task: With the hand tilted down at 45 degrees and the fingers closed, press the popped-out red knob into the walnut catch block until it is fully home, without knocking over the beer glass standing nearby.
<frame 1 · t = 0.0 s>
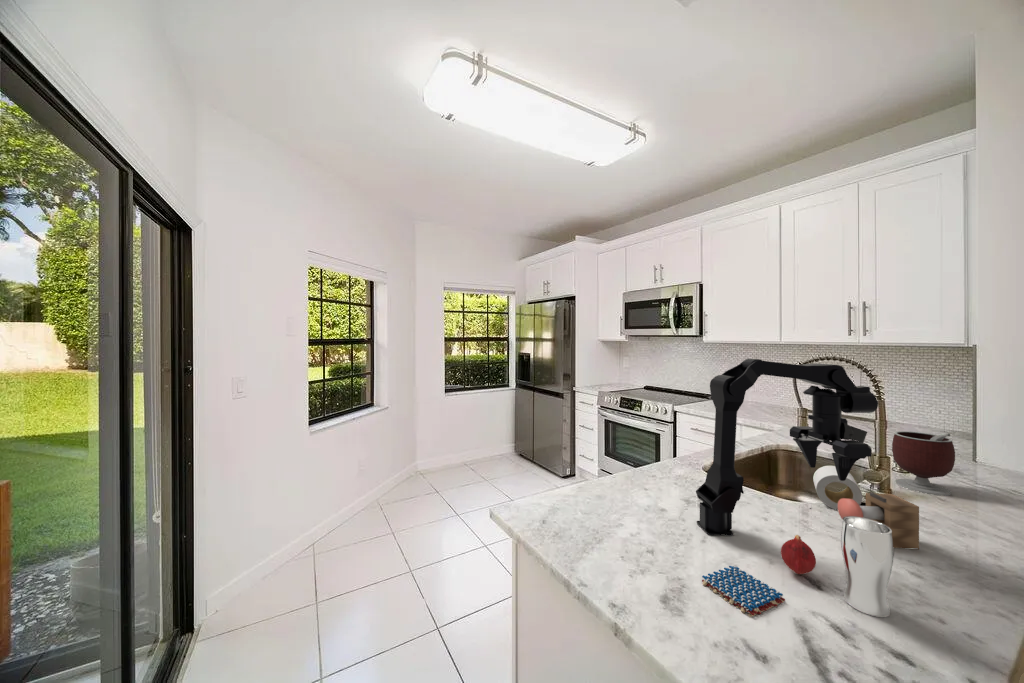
hand: (826, 473, 94), 15 cm above the worktop, tool pointing down, fingers open, 9 cm apart
onion: (798, 575, 77), on the worktop
woven mat: (742, 596, 72), on the worktop
beer glass: (866, 606, 68), on the worktop
toilet paper: (836, 504, 110), on the worktop
catch block: (875, 539, 90), on the worktop
knob: (863, 512, 91), point 6 cm above the worktop, slide at 5.0 cm
mate gourd: (924, 489, 121), on the worktop
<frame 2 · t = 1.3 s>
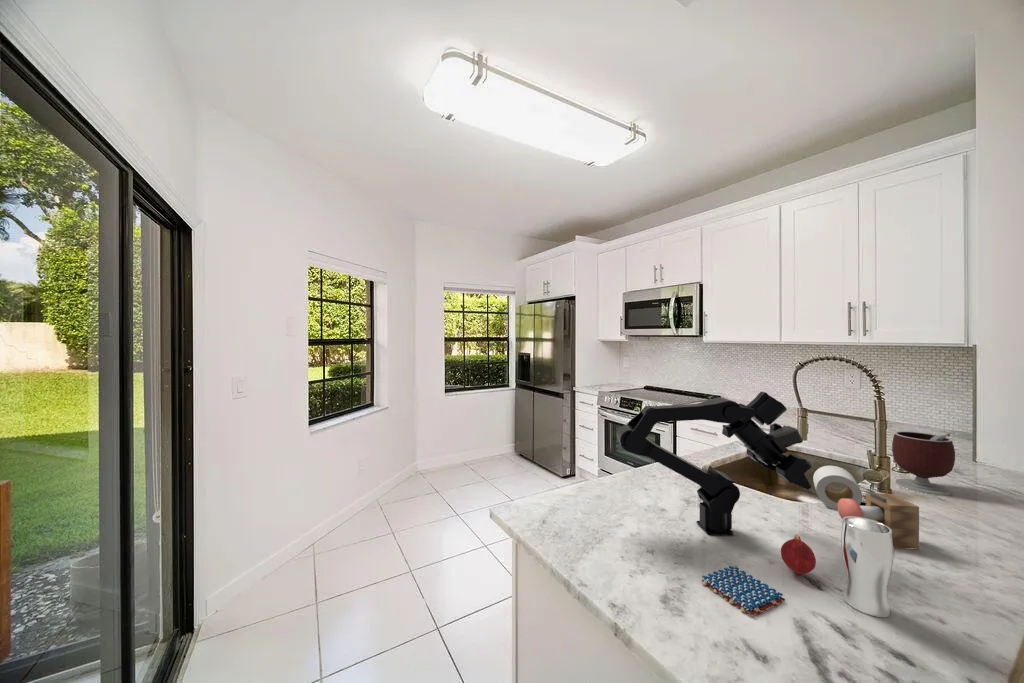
hand: (800, 483, 93), 13 cm above the worktop, tool tilted 45°, fingers open, 6 cm apart
nothing on the worktop moved.
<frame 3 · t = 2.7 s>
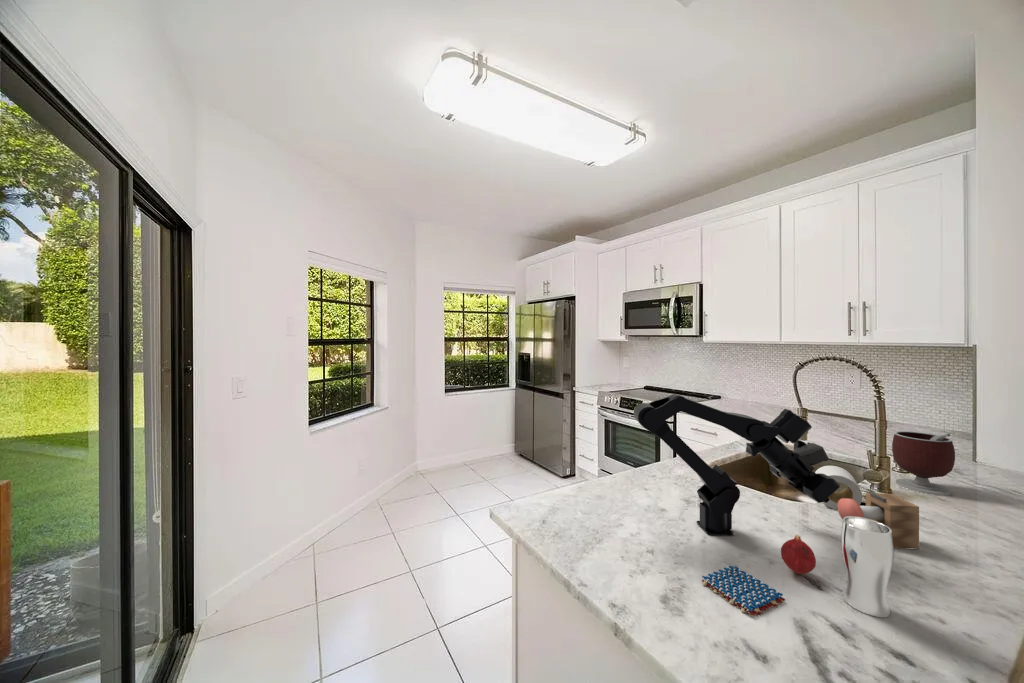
hand: (827, 500, 92), 9 cm above the worktop, tool tilted 45°, fingers closed
nothing on the worktop moved.
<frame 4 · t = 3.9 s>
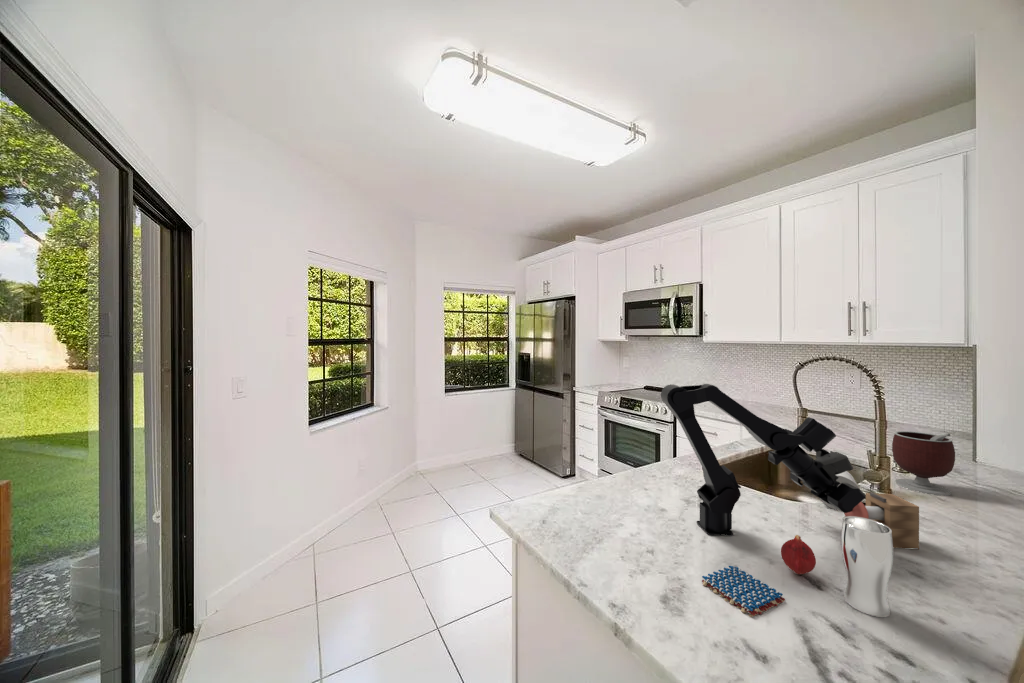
hand: (850, 510, 91), 7 cm above the worktop, tool tilted 45°, fingers closed, pressing on knob
knob: (869, 512, 90), point 6 cm above the worktop, slide at 3.8 cm, touching gripper
everything else where it was.
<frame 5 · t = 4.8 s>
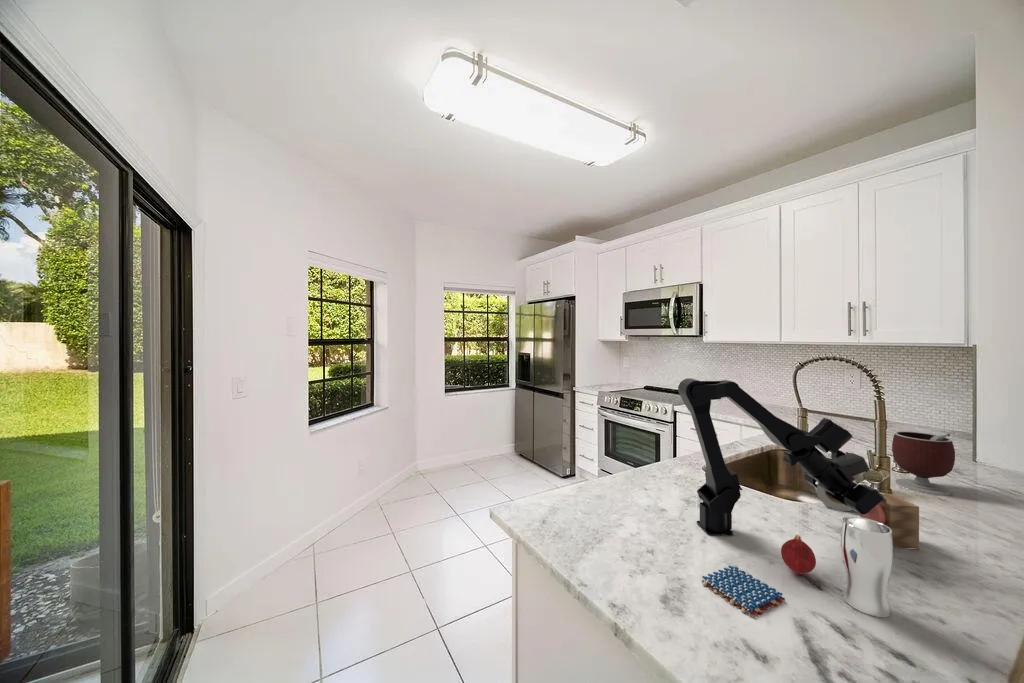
hand: (866, 511, 91), 7 cm above the worktop, tool tilted 45°, fingers closed
knob: (885, 513, 90), point 6 cm above the worktop, slide at 0.2 cm
everything else where it was.
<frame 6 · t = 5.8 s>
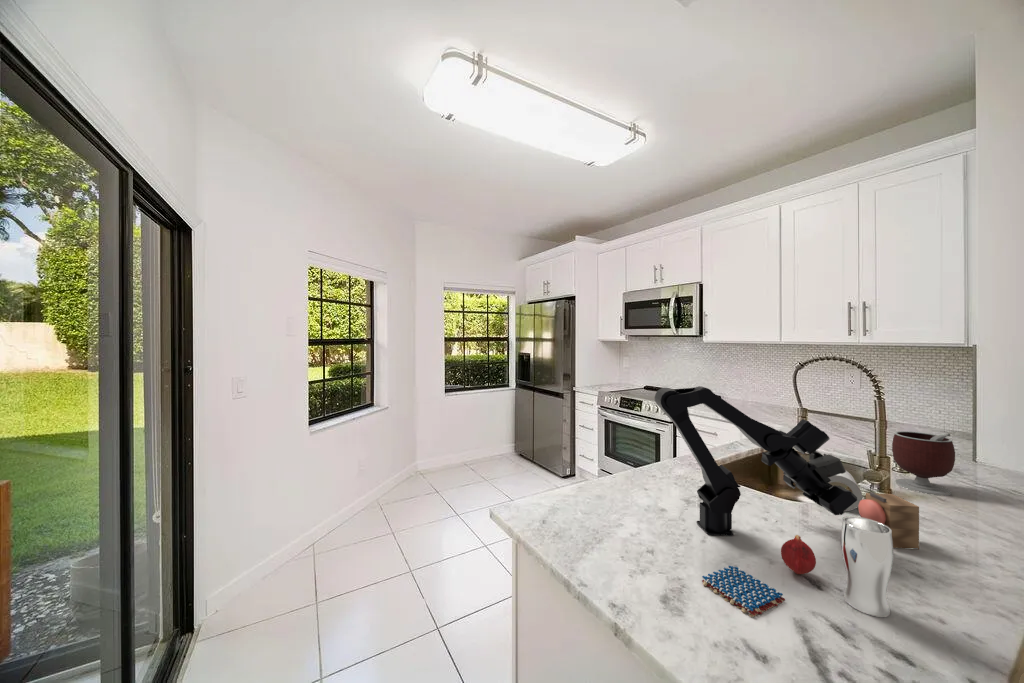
hand: (842, 513, 91), 6 cm above the worktop, tool tilted 45°, fingers closed
nothing on the worktop moved.
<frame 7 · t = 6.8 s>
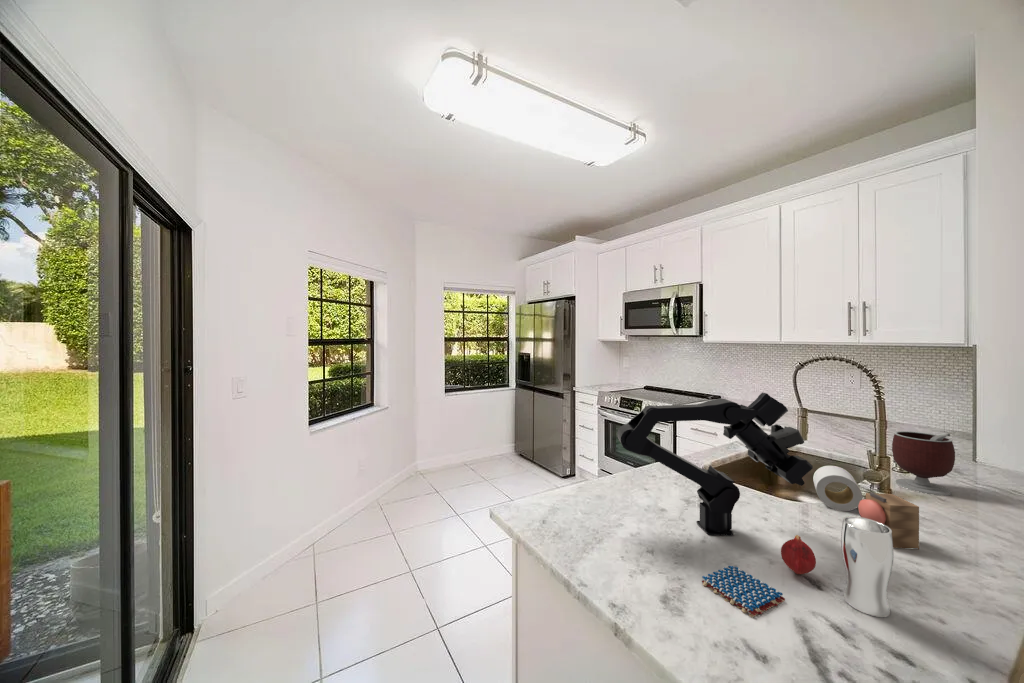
hand: (802, 484, 92), 13 cm above the worktop, tool tilted 45°, fingers closed
nothing on the worktop moved.
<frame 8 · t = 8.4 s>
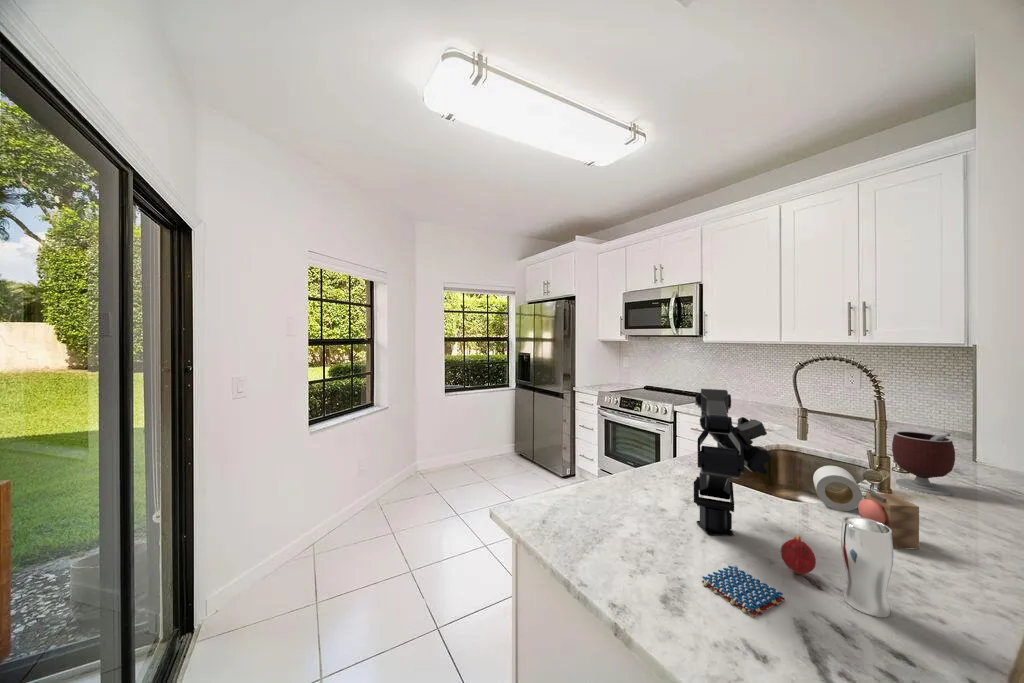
hand: (765, 473, 98), 14 cm above the worktop, tool tilted 45°, fingers closed
nothing on the worktop moved.
at the end: knob slide at 0.2 cm; beer glass tilted 0° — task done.
